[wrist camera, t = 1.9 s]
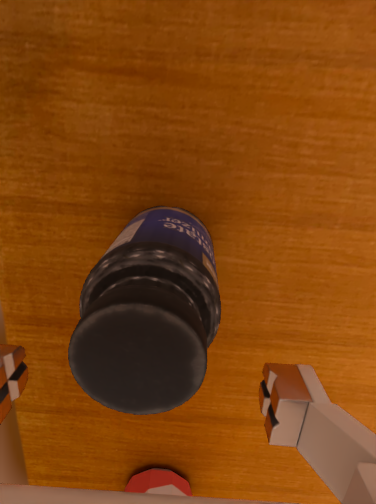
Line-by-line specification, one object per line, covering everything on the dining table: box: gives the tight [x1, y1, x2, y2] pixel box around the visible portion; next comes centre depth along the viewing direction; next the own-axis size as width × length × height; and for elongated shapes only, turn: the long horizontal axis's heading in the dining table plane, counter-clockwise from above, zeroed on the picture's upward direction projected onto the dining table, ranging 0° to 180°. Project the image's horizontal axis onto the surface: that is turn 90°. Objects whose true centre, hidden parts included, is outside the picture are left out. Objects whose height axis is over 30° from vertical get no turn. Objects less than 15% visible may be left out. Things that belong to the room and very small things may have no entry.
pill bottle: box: [68, 206, 221, 415], centre depth 15 cm, size 6×6×11 cm
